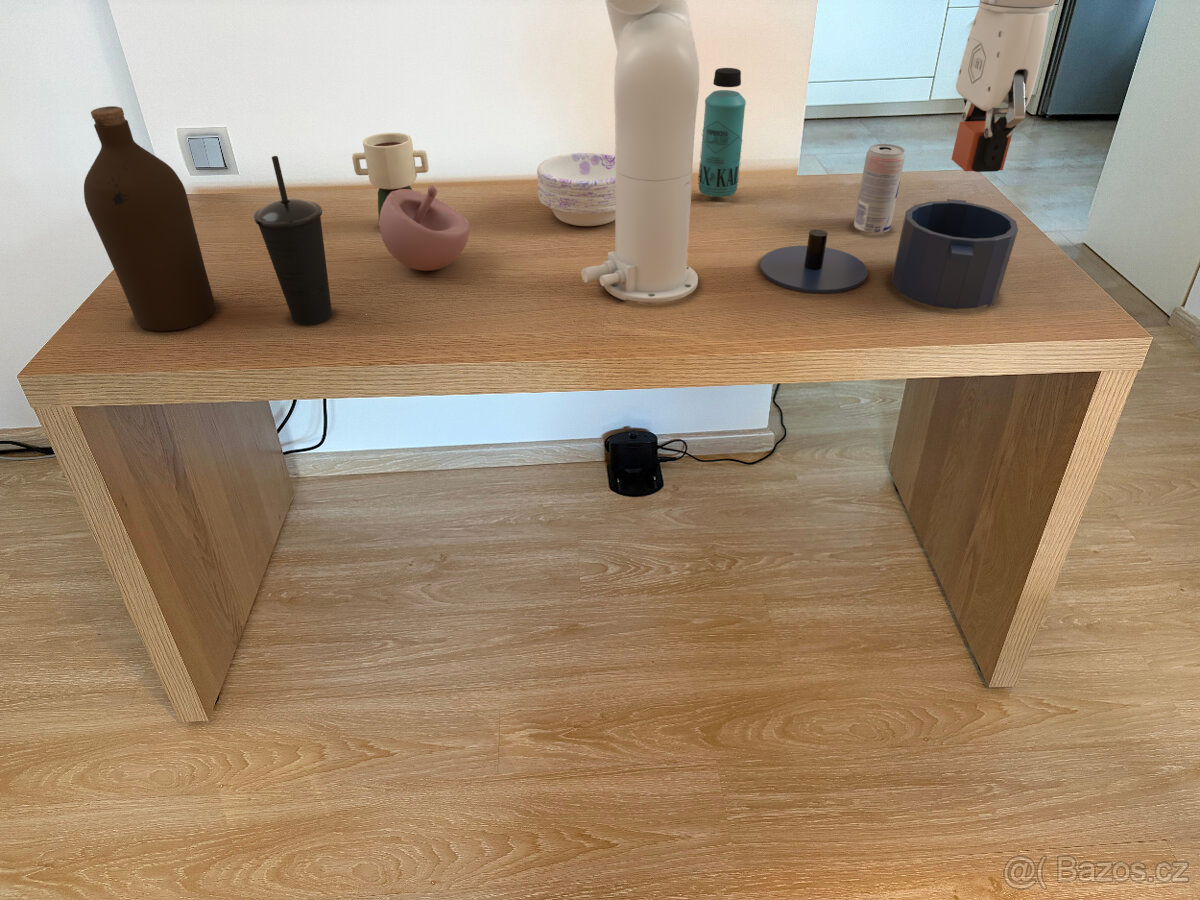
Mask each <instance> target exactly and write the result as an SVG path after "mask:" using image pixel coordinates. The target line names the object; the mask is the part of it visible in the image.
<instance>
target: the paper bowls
mask: <svg viewBox="0 0 1200 900" xmlns="http://www.w3.org/2000/svg"><path fill="white" fill-rule="evenodd" d="M536 175H537V182H536V183H537V196H538V200H539V202H540V203H541V204H542V205H544V206H545V207H548V208H550V209H551V211H552V213H553V214H554V216H555V217H556V218H557V219H558V220H559V221H560V222H563V223H565V224H568V225H572V226H578V227H595V226H596V227H597V226H602V225H606V224H610V223H611V222H615V154H614V155H613V154H608V153H596V152H577V153H568V154H561V155H556V156H553V157H550V158H547V159H545V160H543V161H542V162H541V163H539V165H537V169H536Z"/></svg>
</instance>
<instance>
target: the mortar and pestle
mask: <svg viewBox="0 0 1200 900" xmlns="http://www.w3.org/2000/svg"><path fill="white" fill-rule="evenodd" d="M437 195H438V189H437V187H435V186H434V185H429V186H428V187H427V192H426V193H423V192H421V191H418V190H414V189H412V190H409V189H399V190H397V191H392V192H391V193H390V194H389V195H388V196H387V198H386V200H385V202H384V204H383V206H382V209H381V212H380V218H379V217H378V225H379V232H380V236H381V240H382V242H383V244H384V246H385V248H386V250H387V251H388V252H389V254H390V255H391V256H392V257H393V258H394V259H395V260H396V261H397V262H398V263H401V264H402V265H404V266H406V267H407V268H410V269H413V270H416V271H423V272H430V271H436V270H437V271H438V270H441V269H443V268H446V267H447V266H449V265H451V264H452V263H454V262H455V261H456V260H457V259H458V258H459V257H460V256H461V254H462V253H463V252H464V250H465V248H466V245H467V243H468V241H469V235H470V222H469V221H468V220H467V218H466V217H465V216H464V215H463V214H462V213H461V212H459V211H457V210H456V209H455V208H453V207H452V206H450V205H448V204H447V203H445V202H443V201H442V200H440V199H439V198H436V196H437Z"/></svg>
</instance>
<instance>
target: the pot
mask: <svg viewBox="0 0 1200 900" xmlns="http://www.w3.org/2000/svg"><path fill="white" fill-rule="evenodd" d="M1018 231H1019V227H1018V223H1017V220H1015V219H1014V218H1012V217H1011V216H1010V215H1009V214H1007V213H1005V212H1002V211H1000V210H997V209H995V208H992V207H991V206H986V205H982V204H977V203H973V202H967V200H962V199H954V198H953V199H952V198H946V200H938V201H937V200H936V201H925V202H922V203H918V204H914V205H912V206H911V207H909V208H908V209H906V210H905V213H904V218H903V223H902V228H901V232H900V237H899V241H898V245H897V251H896V255H895V261H894V265H893V269H892V274H891V285H892V286H893V287H894V289H896V291H897V292H898V293H900V294H901V295H903V296H905V297H907V298H908V299H910V300H912V301H915V302H918V303H921V304H925V305H929V306H931V307H937V308H946V309H953V310H961V309H976V308H980V307H983V306H986V305H987V308H989V307H991V306H992V305H993V304H994V303H995V302H996V301H997V298H998V297H999V295H1000V291H1001V288H1002V284H1003V282H1004V278H1005V274H1006V272H1007V268H1008V264H1009V262H1010V258H1011V255H1012V252H1013V249H1014V245H1015V241H1016V238H1017V235H1018Z"/></svg>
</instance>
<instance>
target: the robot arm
mask: <svg viewBox="0 0 1200 900" xmlns="http://www.w3.org/2000/svg"><path fill="white" fill-rule="evenodd" d="M1056 1H1057V0H979V2H978V9H977V11H976V13H975V16H974V19H973V22H972V25H971V27H970V31H969V35H968V38H967V40H966V45H965V48H964V52H963V55H962V59H961V63H960V66H959V71H958V75H957V79H956V84H955V89H956V92H957V93H958V94H959V96H961V97H962V98H963V104H964V109H963V112H962V114H961V122H963V121H986V123H985V130H984V136H980V137H979V141H978V145H977V149H976V153H975V157H974V161H973V166H972V170H973V171H972V172H975V173H988V172H989V173H990V172H999V171H1001V170H1000V168H1001V165H1002V161H1003V158H1004V154H1005V150H1006V146H1007V143H1008V139H1009V138H1010V137H1011V136H1012V137H1013V134H1012V132H1013V133H1014V129H1015V128H1016V127H1017V126H1018V125H1019V124H1020V123H1021V122H1023V121H1024V120H1025V118H1026V107H1027V106H1028V105H1029V103H1030V100H1031V98H1032V95H1033V91H1034V89H1035V85H1036V81H1037V78H1038V73H1039V69H1040V65H1041V61H1042V56H1043V52H1044V46H1045V41H1046V38H1047V37H1046V36H1047V32H1048V31H1047V30H1048V25H1049V16H1050V12H1052V11H1053V10H1054V8H1055V5H1056V4H1055V3H1056ZM604 2H605V5H606V6H605V7H606V9H607V13H608V14H607V15H608V18H609V22H610V26H611V32H612V36H613V39H614V43H615V47H616V52H617V53H616V57H615V64H614V65H615V66H614V75H613V78H614V79H613V99H614V100H613V101H614V145H615V146H614V156H615V220H614V229H615V231H614V251H609V252H607V260H604V261H602V263H601V264H599V265H591V266H587V267H583V268H581V270H580V271H581V272H580V273H581V279H582V281H583V283H585V284H588V283H592V282H597V281H599V284H600V285H601V287H604V289H605V290H606V291H607V292H608V293H609V294H610V295H612V296H613V297H614V298H616V299H618V300H621V301H624V302H626V301H627V300H628V301H632V302H639V303H664V302H665V303H666V302H671V301H677V300H679V299H682V298H684V297H687V296H689V295H691V294H692V293H693V292H694V291H696V289H697V287H698V284H699V276H698V274H697V272H696V270H694V269H693V268H692V267H691V266H689V265H688V255H689V241H690V240H689V238H690V236H689V235H690V222H691V206H692V205H691V203H692V188H693V187H692V185H693V164H694V147H695V133H696V123H697V120H696V119H697V112H698V103H699V93H700V91H699V90H700V62H699V57H698V52H697V47H696V43H695V38H694V32H693V27H692V22H691V18H690V13H689V7H688V6H689V5H688V1H687V0H604ZM1002 103H1005V104H1006V105H1008V107H1000V106H1001V104H1002ZM1002 114H1005V115H1004V116H1000V117H999V118H998V119H997V120H996V117H997V115H1002ZM995 121H996V122H995ZM1012 137H1011V138H1012Z"/></svg>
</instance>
